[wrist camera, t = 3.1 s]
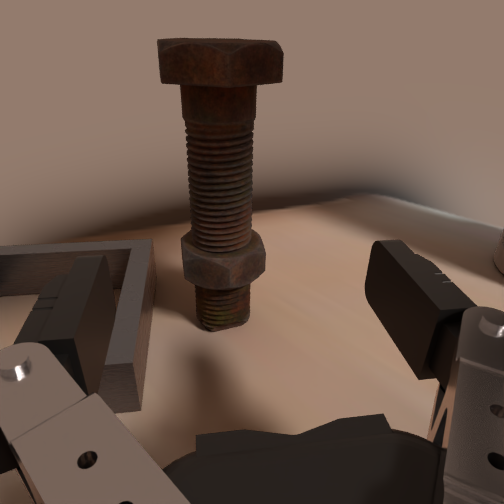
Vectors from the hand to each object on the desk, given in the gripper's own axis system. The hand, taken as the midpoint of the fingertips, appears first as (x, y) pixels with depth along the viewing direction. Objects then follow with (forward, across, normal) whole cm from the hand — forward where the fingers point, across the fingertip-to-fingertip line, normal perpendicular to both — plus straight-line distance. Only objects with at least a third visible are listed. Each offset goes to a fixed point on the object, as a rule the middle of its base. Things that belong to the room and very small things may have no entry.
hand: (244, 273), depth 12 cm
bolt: (+9, 0, +9) cm, 13 cm away
